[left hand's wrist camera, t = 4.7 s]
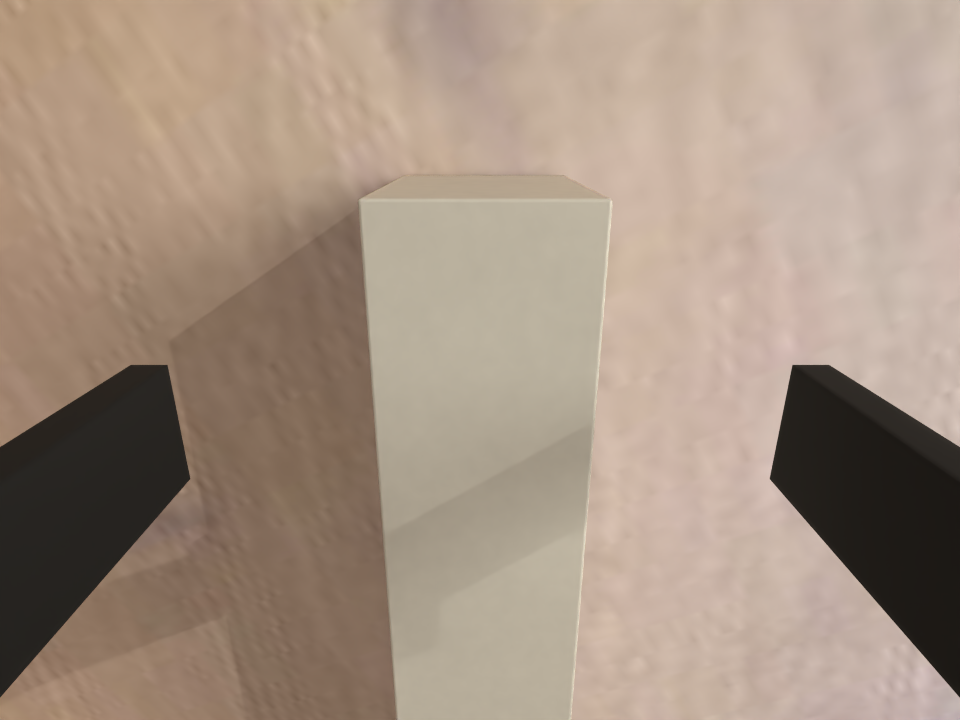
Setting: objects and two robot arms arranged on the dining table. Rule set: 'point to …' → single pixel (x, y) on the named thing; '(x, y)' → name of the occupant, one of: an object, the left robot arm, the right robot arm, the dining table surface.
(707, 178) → the dining table surface
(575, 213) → the bar
